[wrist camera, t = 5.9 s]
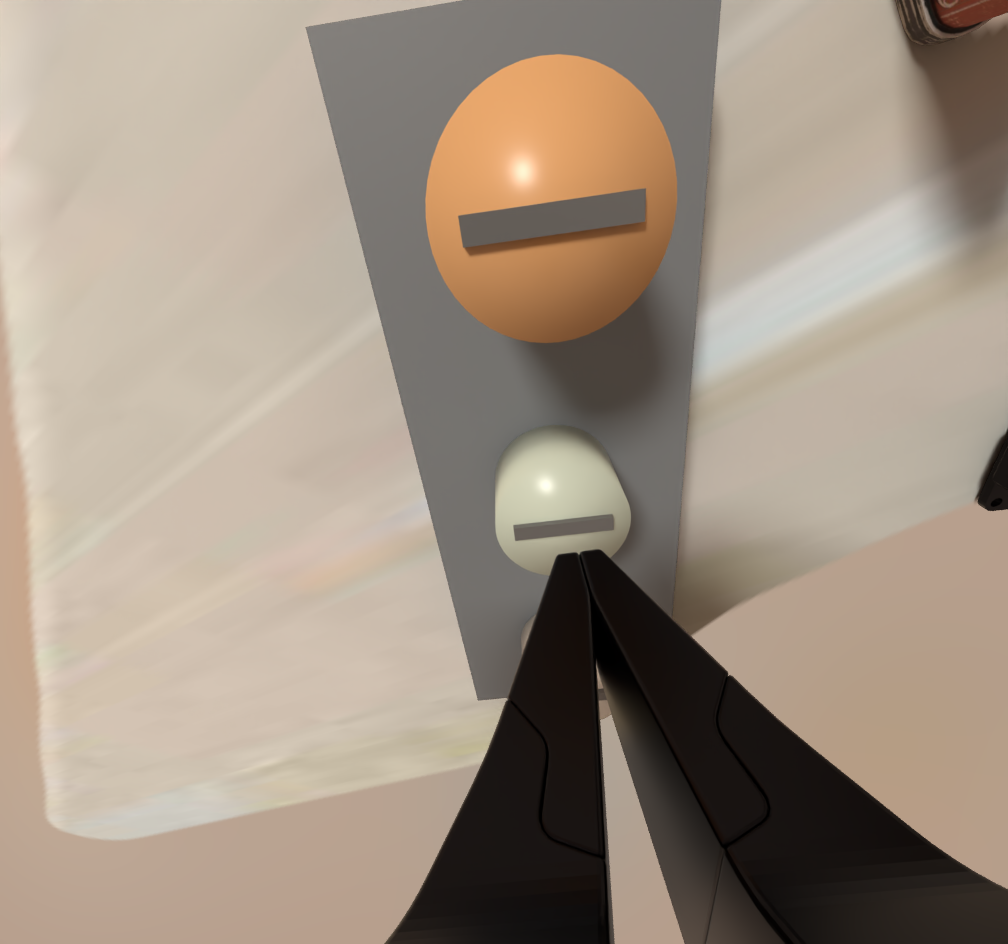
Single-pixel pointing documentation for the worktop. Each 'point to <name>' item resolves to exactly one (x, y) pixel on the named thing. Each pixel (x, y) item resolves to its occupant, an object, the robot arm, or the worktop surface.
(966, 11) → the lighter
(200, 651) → the worktop surface
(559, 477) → the knob centre
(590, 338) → the knob mount
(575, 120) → the knob
